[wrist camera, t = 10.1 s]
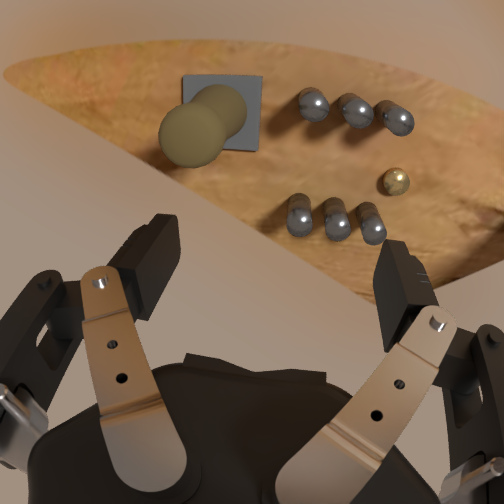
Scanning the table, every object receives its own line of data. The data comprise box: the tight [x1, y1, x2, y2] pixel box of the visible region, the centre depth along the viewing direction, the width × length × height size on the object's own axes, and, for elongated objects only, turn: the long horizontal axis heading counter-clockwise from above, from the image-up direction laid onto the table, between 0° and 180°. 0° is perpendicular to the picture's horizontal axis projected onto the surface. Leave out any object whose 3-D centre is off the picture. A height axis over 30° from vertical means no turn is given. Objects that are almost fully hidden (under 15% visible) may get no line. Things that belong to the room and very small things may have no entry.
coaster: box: [183, 75, 263, 151], centre depth 31 cm, size 8×8×1 cm
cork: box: [158, 84, 247, 168], centre depth 26 cm, size 6×6×11 cm
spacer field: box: [287, 87, 414, 245], centre depth 31 cm, size 11×15×5 cm
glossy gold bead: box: [383, 168, 410, 196], centre depth 33 cm, size 3×3×1 cm
